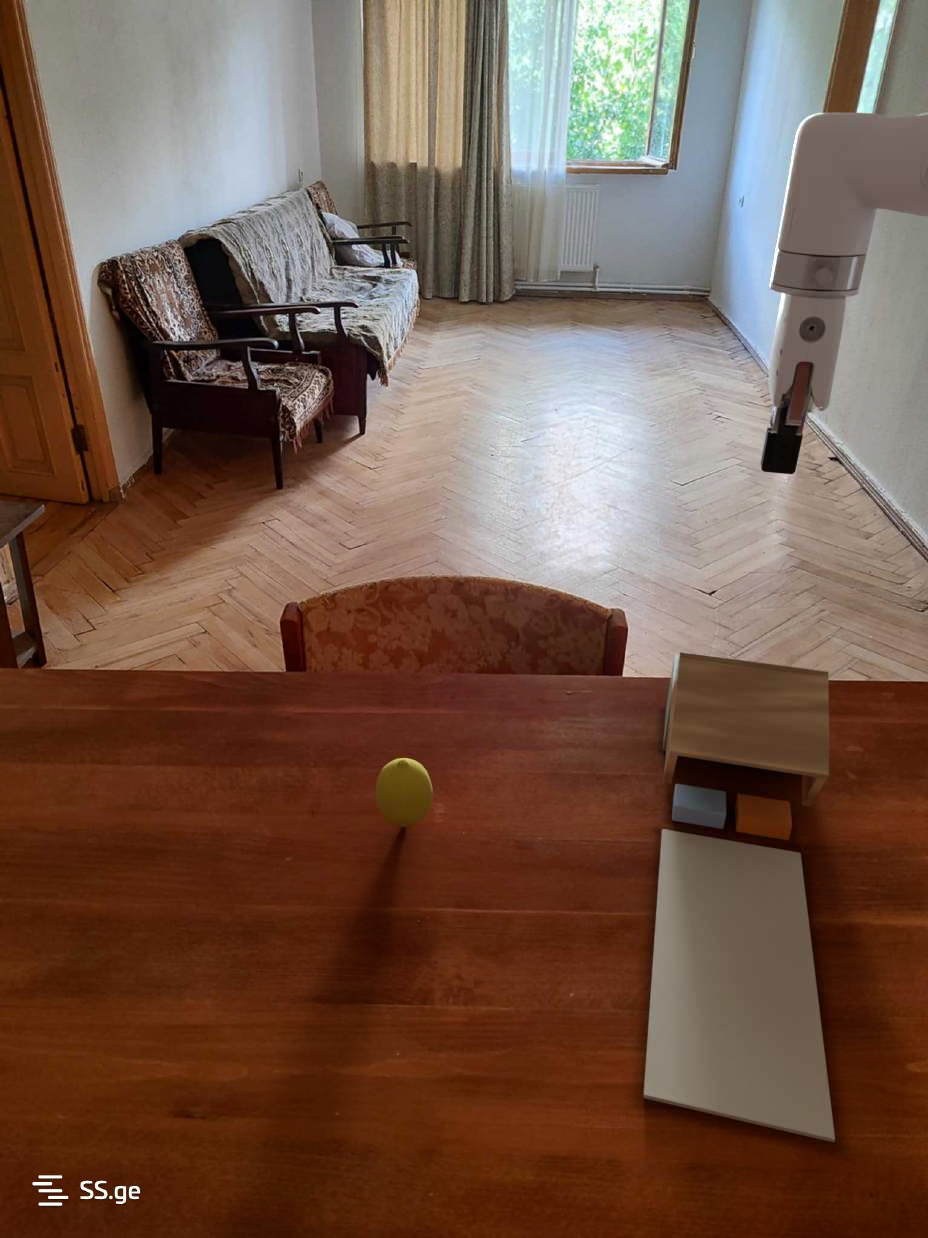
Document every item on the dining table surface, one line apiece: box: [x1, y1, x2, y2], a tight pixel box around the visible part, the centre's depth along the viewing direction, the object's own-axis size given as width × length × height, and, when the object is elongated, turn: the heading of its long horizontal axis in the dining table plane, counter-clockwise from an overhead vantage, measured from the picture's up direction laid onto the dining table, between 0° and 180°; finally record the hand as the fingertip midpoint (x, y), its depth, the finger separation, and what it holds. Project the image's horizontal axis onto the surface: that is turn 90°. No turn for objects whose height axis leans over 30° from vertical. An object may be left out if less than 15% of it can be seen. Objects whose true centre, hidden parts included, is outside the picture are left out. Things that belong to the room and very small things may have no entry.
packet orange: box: [734, 793, 793, 841], centre depth 88 cm, size 4×5×2 cm
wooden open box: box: [662, 651, 830, 807], centre depth 87 cm, size 8×14×11 cm
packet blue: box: [671, 783, 727, 830], centre depth 89 cm, size 4×5×2 cm
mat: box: [643, 828, 836, 1143], centre depth 74 cm, size 28×13×1 cm, turn 166°
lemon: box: [374, 757, 433, 828], centre depth 86 cm, size 6×6×8 cm
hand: (777, 469), depth 87 cm, fingers closed
